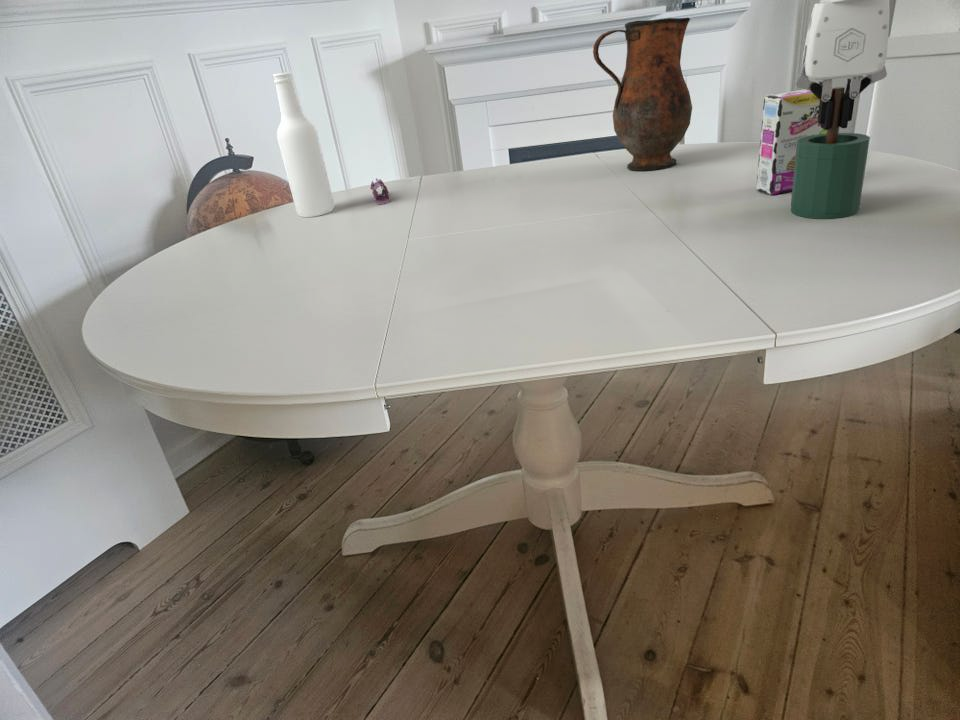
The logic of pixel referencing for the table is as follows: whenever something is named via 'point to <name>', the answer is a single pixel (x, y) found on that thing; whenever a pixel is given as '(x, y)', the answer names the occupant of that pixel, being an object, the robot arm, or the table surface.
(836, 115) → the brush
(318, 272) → the table surface
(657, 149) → the pitcher
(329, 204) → the alcohol
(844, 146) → the cup
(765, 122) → the candy bar box
